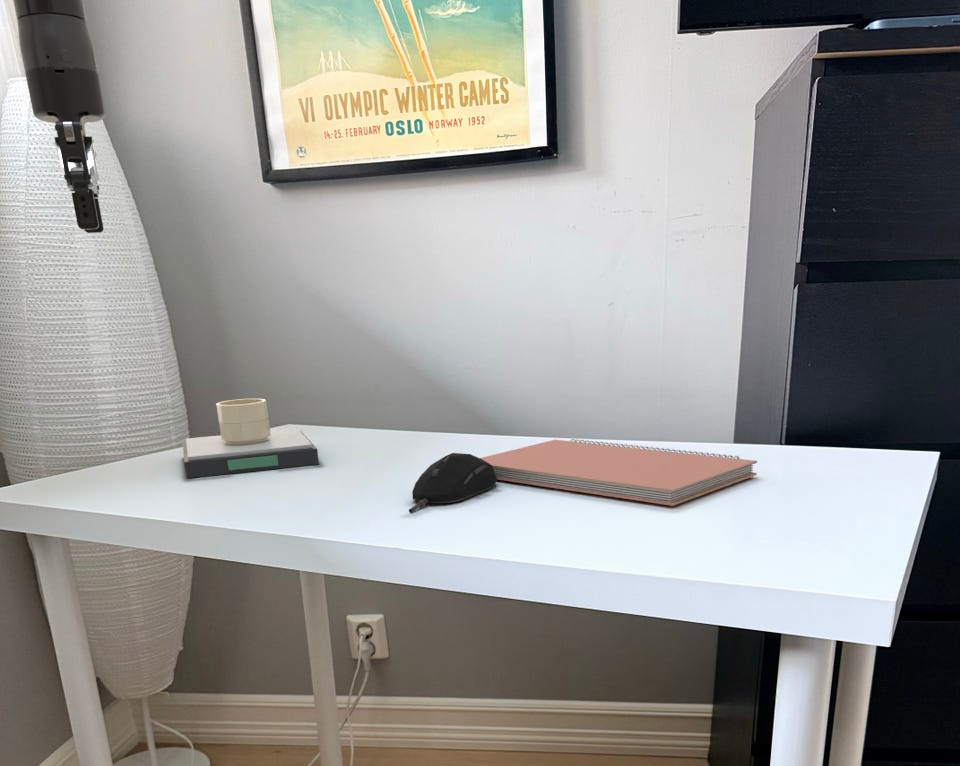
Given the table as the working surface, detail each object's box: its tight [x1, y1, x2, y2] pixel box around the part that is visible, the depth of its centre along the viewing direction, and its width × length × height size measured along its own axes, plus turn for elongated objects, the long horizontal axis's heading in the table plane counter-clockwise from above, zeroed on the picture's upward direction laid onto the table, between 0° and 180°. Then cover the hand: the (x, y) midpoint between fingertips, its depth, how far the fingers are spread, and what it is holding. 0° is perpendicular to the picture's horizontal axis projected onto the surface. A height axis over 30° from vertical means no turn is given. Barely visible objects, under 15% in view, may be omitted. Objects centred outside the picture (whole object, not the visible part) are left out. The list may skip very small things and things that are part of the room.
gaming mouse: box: [408, 452, 498, 514], centre depth 96 cm, size 6×15×4 cm, turn 152°
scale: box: [182, 427, 320, 479], centre depth 121 cm, size 16×16×2 cm
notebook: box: [480, 438, 758, 507], centre depth 101 cm, size 27×17×2 cm, turn 46°
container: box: [215, 398, 271, 445], centre depth 119 cm, size 6×6×5 cm
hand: (91, 230), depth 108 cm, fingers open, 8 cm apart
